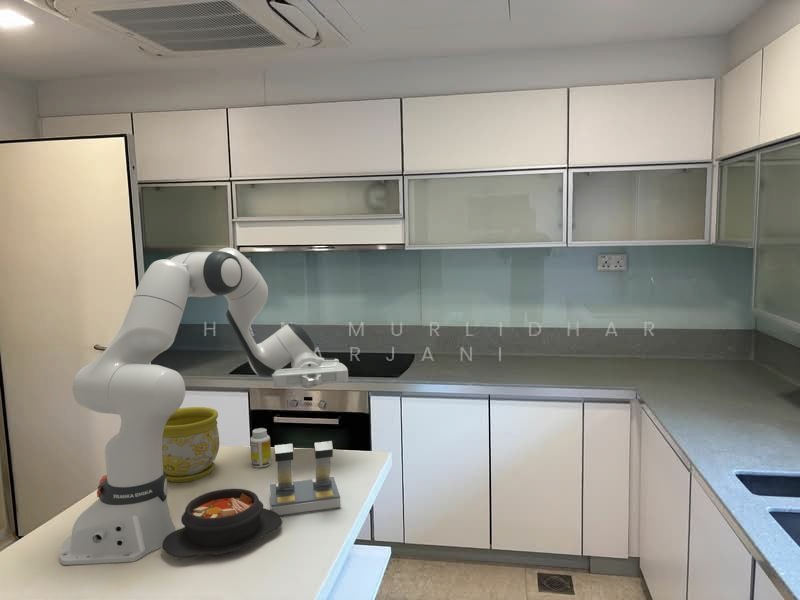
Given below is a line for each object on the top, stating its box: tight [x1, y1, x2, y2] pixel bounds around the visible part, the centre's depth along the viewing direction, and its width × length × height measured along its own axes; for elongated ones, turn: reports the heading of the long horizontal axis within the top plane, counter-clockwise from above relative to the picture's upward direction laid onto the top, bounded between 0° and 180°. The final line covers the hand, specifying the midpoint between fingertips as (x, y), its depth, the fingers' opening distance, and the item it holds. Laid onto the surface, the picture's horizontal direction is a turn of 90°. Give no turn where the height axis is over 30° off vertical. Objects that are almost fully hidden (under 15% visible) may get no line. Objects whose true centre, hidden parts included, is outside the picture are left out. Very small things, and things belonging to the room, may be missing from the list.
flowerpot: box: [162, 406, 220, 483], centre depth 165 cm, size 18×18×16 cm
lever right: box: [313, 440, 334, 488], centre depth 142 cm, size 4×2×15 cm
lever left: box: [274, 443, 295, 493], centre depth 141 cm, size 4×2×15 cm
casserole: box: [162, 488, 283, 559], centre depth 129 cm, size 25×19×8 cm
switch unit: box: [269, 476, 341, 517], centre depth 146 cm, size 16×12×3 cm
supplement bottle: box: [249, 427, 272, 469], centre depth 170 cm, size 6×6×10 cm
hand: (313, 382), depth 157 cm, fingers closed
